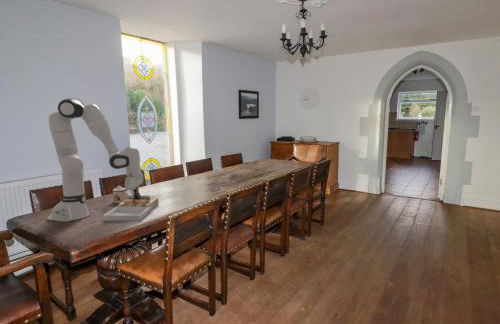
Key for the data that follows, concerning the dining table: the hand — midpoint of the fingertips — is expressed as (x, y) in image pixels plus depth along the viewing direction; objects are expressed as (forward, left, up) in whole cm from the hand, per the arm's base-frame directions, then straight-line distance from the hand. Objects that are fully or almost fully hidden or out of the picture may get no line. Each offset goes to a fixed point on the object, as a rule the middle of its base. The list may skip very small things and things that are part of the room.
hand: (135, 193), depth 192 cm
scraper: (0, +5, -6) cm, 8 cm away
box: (0, -11, -12) cm, 16 cm away
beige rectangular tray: (0, +6, -12) cm, 13 cm away
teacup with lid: (-19, +19, -12) cm, 29 cm away
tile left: (-4, 0, -7) cm, 8 cm away
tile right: (+4, 0, -7) cm, 8 cm away
